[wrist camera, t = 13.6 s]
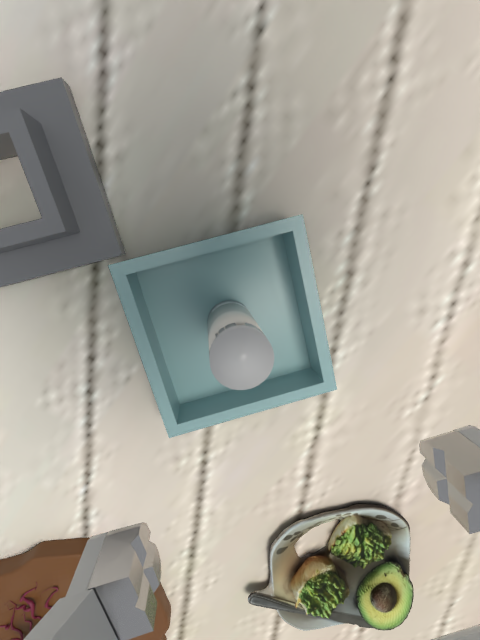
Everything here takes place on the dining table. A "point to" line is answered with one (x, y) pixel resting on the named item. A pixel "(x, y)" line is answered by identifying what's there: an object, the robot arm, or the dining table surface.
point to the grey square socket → (53, 186)
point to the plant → (51, 588)
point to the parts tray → (195, 305)
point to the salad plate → (343, 572)
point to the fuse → (237, 347)
